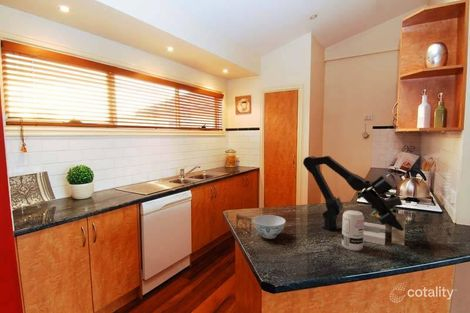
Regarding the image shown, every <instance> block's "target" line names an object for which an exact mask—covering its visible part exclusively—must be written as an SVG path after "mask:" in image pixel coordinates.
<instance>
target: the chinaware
mask: <svg viewBox="0 0 470 313" xmlns="http://www.w3.org/2000/svg"><path fill="white" fill-rule="evenodd" d="M253 224H254V227H255V229H256V231H257V232H258V233H259V234H260V235H261V236H262V237H263V238H264V239H270V240H271V239H275V238H277V236H278V235H279V234H281V233H282V232H283V230H284V229H285V226H286V219H285V218H284V217H281V216H278V215H273V214H261V215H258V216H255V217H254V218H253Z"/></svg>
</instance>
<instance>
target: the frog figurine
mask: <svg viewBox="0 0 470 313" xmlns="http://www.w3.org/2000/svg"><path fill="white" fill-rule="evenodd" d="M388 198H390V195H388V197H387V199H388ZM391 209H392V210H394V209H395V208H391ZM391 209H390V210H391ZM396 212H399V207H396ZM369 215H370V216H371V215H372V217H375V218H379V219H380V216H379V215H378V212H377V211H376V210H375V209H374V210H373V211H372V212H371V213H370V214H369Z"/></svg>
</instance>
